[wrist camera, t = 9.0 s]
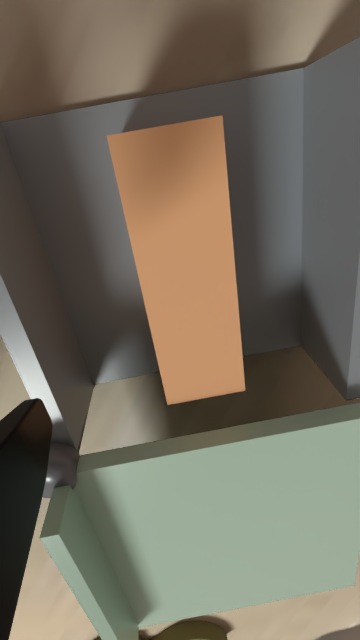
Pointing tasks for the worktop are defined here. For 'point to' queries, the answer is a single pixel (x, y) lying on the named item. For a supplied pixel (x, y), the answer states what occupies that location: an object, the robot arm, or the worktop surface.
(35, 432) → the robot arm
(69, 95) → the worktop surface
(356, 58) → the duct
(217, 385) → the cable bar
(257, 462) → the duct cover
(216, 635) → the cookie cutter
